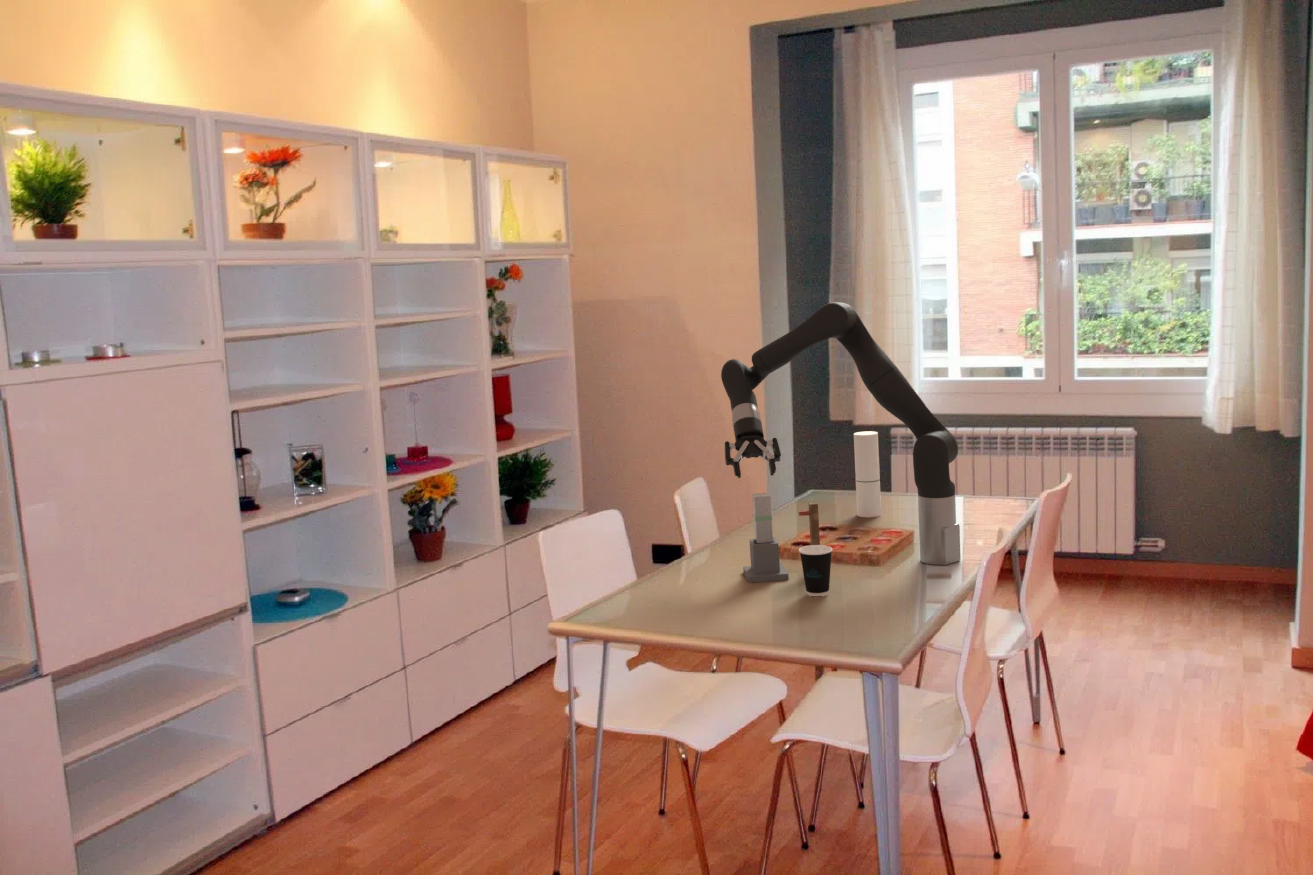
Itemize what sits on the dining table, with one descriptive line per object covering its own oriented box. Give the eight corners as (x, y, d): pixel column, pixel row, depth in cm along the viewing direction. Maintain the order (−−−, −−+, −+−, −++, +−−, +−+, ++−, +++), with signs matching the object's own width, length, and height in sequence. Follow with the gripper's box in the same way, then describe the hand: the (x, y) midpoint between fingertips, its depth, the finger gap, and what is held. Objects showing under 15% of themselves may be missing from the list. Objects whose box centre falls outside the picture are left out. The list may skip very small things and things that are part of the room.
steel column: (771, 546, 292) (768, 492, 289) (773, 550, 287) (770, 495, 285) (754, 547, 291) (751, 493, 289) (757, 551, 287) (754, 497, 285)
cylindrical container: (879, 511, 351) (876, 430, 347) (882, 516, 344) (878, 434, 340) (856, 512, 352) (852, 432, 348) (858, 517, 345) (854, 435, 341)
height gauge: (822, 568, 293) (819, 501, 290) (825, 573, 289) (822, 504, 286) (800, 570, 293) (797, 502, 290) (803, 574, 289) (800, 506, 286)
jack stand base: (782, 568, 296) (780, 534, 294) (788, 579, 286) (786, 544, 284) (743, 572, 295) (741, 538, 294) (748, 582, 285) (746, 547, 284)
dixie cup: (826, 587, 277) (824, 543, 275) (840, 596, 269) (838, 550, 268) (796, 591, 275) (793, 547, 273) (808, 600, 268) (806, 555, 266)
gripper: (721, 417, 300) (729, 468, 290) (775, 413, 300) (784, 464, 291) (719, 434, 306) (727, 485, 296) (772, 430, 307) (782, 481, 297)
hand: (755, 475), depth 294 cm, fingers open, 8 cm apart
